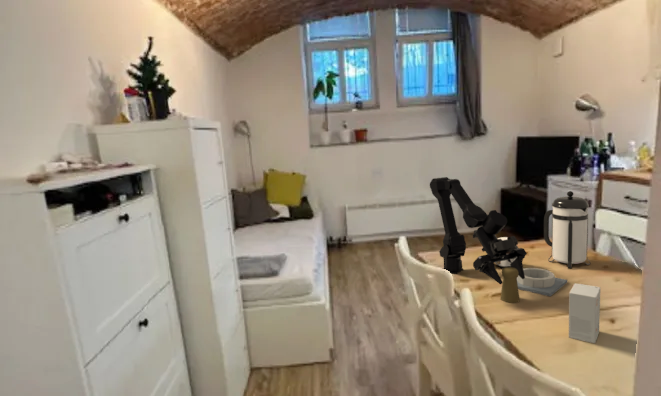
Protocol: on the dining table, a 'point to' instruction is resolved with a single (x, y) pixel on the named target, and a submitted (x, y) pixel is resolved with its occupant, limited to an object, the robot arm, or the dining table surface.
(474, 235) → the robot arm
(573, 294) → the small box
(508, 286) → the cork
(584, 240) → the coffee press
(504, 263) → the spread jar
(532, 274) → the mount
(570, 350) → the dining table surface
